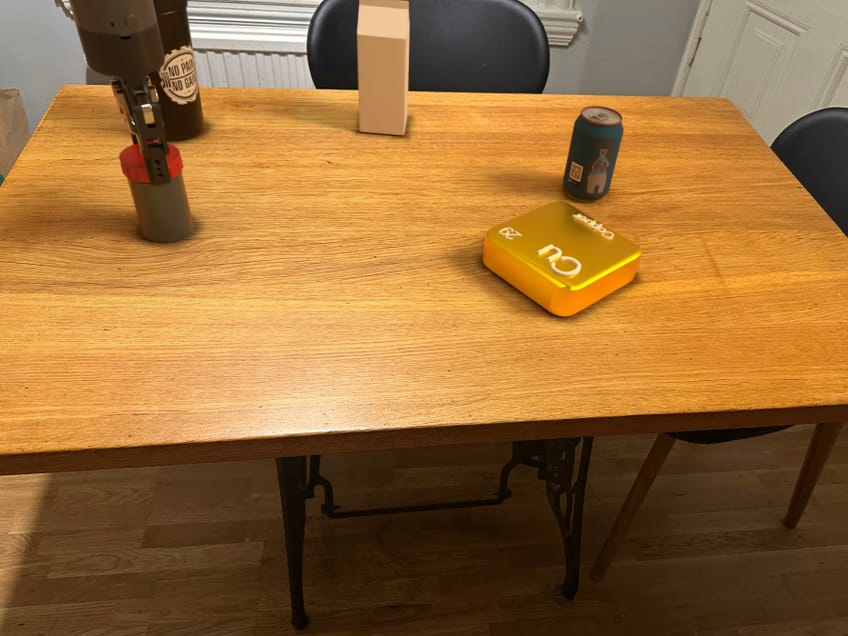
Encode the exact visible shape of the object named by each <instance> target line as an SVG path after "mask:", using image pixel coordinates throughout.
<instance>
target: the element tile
mask: <svg viewBox="0 0 848 636" xmlns="http://www.w3.org/2000/svg"><path fill="white" fill-rule="evenodd" d="M642 253H643V251H642V248H641V246H640V245H638V244H637V243H636V242H634V241H633V240H631V239H630V238H628V237H627V236H624V235H623V234H621V233H619V232H618V231H616V230H615V229H613V228H611V227H609V225H608V226H607V225H606V224H604V223H603V222H601V221H599V220H597V219H596V218H594V217H592V216H591V215H589V214H588V213H586V212H584V211H582V210H581V209H580V208H577V207H575V205H572V204H570V203H568V202H565V201H563V200H556V201H551V202H548V203H545V204H543V205H541V206H539V207H537V208H534V209H532V210H530V211H526V212H525V213H523V214H521V215H518V216H516V217H514V218H511V219H508V220H507V221H504V222H502V223H499V224H497V225H495V226H493V227H490V228H489V229H487V231H486V232H485V236H484V245H483V253H482V263H483V264H484V266H485V267H486V268H487V269H488V270H490V271H491V272H493V274H495V275H497V276H498V277H500V278H502V280H504V281H505V282H506V283H508V284H510V285H511V286H512V287H514V288H515V289H516V290H518V291H520V293H522V294H524V295H525V296H527V297H528V298H529V299H530V300H532V301H534V302H535V303H536V304H538V305H539V306H541V308H543V309H545V310H546V311H548V312H549V313H551V314H552V315H555V316H558V317H571V316H574V315H576V314H577V313H579V312H581V311H583V310H584V309H586V308H588V307H590V306H591V305H593V304H595V303H597V302H599V301H600V300H602V299H604V298H605V297H607V296H608V295H610V294H613V293H614V292H615V291H617V290H619V289H620V288H622V287H624V286H626V285H628V284H630V283H631V282H632V281H633V280H634V278H635V276H636V273H637V269H638V266H639V263H640V260H641V257H642Z"/></svg>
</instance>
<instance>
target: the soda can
mask: <svg viewBox="0 0 848 636" xmlns="http://www.w3.org/2000/svg"><path fill="white" fill-rule="evenodd" d="M624 130H625V129H624V126H623V116H622V114H621V113H620V112H619V111H618V110H616V109H613V108H610V107H607V106H602V105H588V106H585V107H583V108H582V109H581V110H580V114H579V115H578V116H577V118H576V119H575V121H574V122H573V127H572V134H571V138H570V143H569V148H568V152H567V158H566V164H565V168H564V174H563V178H562V184H563V187H564V189H565V192H566V194H567V195H568V196H569V197H570V198H572V199H573V200H575V201H578V202H582V203H595V202H599V201H601V200H602V199H603V198H604V197H605V196H606V195H607V194H608V193H609V191H610V189H611V186H612V185H611V184H612V181H613V176H614V172H615V169H616V164H617V160H618V155H619V152H620V149H621V144H622V140H623V136H624V132H625V131H624Z"/></svg>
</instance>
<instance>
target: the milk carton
mask: <svg viewBox="0 0 848 636" xmlns="http://www.w3.org/2000/svg"><path fill="white" fill-rule="evenodd" d="M358 3H359V5H358V16H357V18H358V19H357V29H356V48H357V49H356V51H357V84H358V87H357V88H358V89H357V91H358V119H359V120H358V123H359V124H358V127H359V128H358V129H359V132H361V133H370V134H371V133H372V134H382V135H383V134H384V135H394V136H404V135H405V132H406V127H407V126H406V125H407V122H408V121H407V120H408V110H409V109H408V108H409V106H408V105H409V68H410V25H411V23H410V21H411V20H410V10H409V8H410V5H409V4H410V2H409V1H408V0H358Z"/></svg>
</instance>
